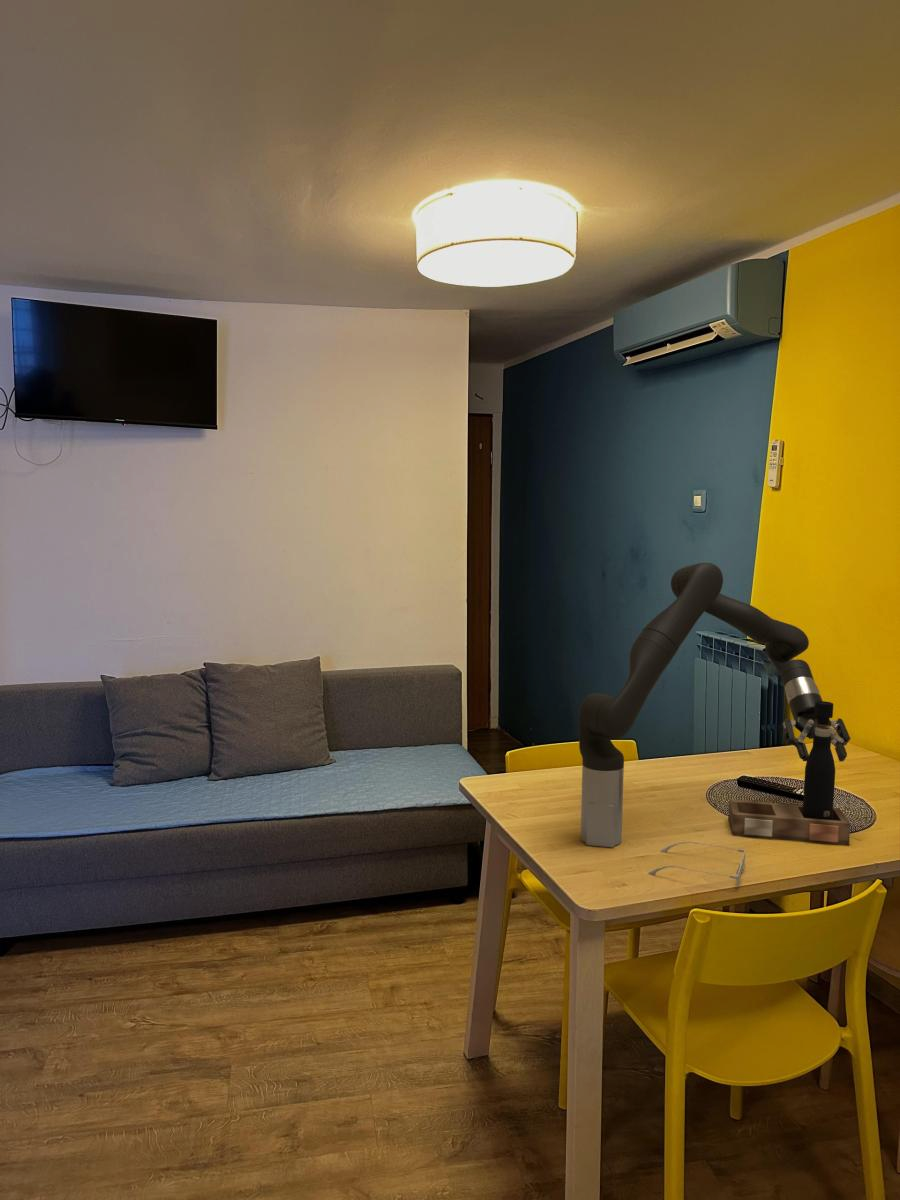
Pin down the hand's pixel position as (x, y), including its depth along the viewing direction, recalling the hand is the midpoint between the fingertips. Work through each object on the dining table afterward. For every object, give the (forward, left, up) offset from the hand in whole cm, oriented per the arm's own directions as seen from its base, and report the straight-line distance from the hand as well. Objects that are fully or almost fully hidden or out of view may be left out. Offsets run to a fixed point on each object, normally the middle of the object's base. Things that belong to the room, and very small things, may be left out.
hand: (824, 759), depth 196 cm
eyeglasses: (-27, +29, -19) cm, 44 cm away
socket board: (+1, +7, -18) cm, 20 cm away
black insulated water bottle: (+1, +1, -17) cm, 17 cm away
